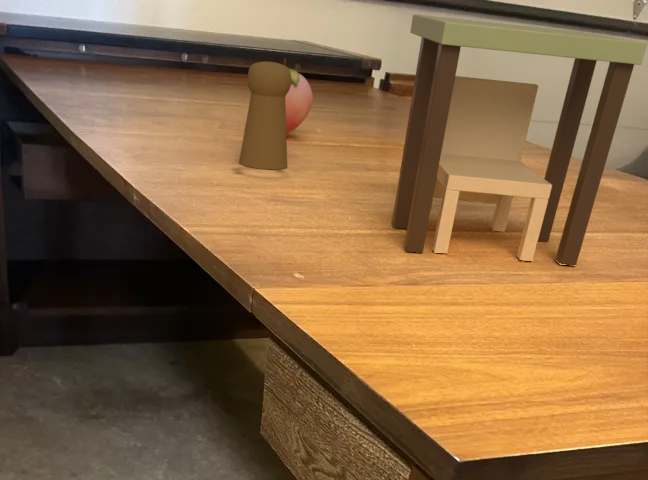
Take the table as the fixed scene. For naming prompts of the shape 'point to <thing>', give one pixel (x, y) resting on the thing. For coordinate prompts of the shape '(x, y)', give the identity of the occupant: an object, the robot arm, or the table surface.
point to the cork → (266, 117)
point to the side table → (587, 49)
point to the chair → (489, 158)
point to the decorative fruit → (297, 100)
